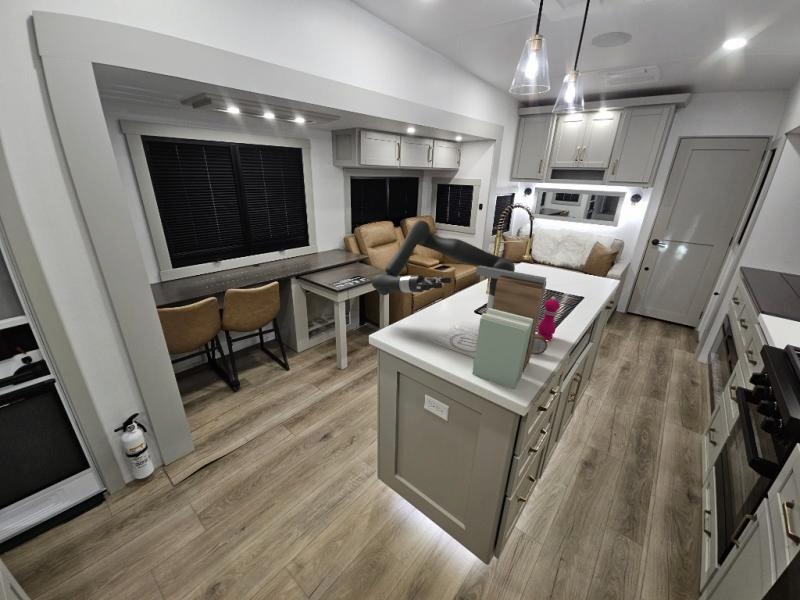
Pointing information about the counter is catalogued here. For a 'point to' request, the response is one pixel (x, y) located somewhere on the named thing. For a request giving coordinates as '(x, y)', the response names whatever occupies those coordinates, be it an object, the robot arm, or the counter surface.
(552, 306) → the pepper mill
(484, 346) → the sage green box
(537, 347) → the tin
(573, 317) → the counter surface
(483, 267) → the bar
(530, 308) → the walnut post
